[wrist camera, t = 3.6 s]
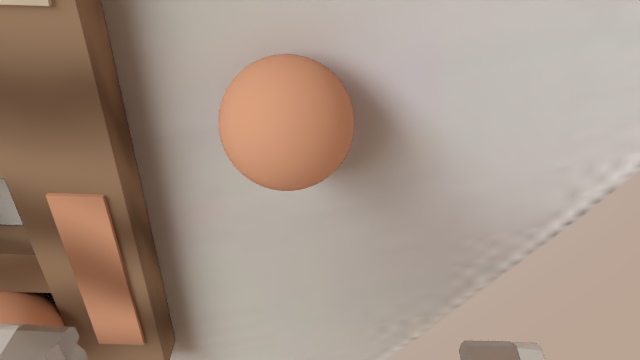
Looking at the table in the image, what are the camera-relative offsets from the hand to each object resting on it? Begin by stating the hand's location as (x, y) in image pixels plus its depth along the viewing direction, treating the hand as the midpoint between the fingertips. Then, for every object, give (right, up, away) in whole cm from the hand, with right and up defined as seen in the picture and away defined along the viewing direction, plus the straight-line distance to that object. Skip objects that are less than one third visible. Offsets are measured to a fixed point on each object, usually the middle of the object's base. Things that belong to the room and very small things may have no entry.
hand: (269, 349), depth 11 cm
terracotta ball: (0, +6, +8) cm, 10 cm away
